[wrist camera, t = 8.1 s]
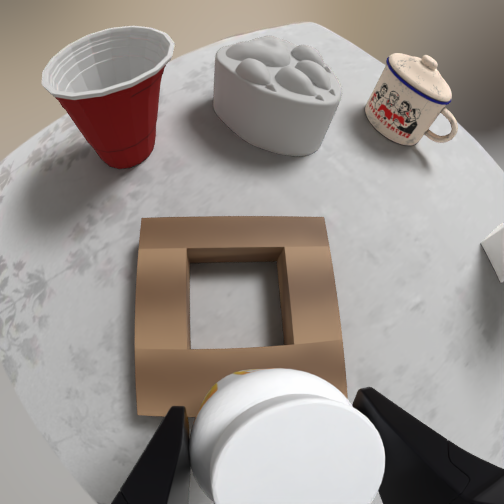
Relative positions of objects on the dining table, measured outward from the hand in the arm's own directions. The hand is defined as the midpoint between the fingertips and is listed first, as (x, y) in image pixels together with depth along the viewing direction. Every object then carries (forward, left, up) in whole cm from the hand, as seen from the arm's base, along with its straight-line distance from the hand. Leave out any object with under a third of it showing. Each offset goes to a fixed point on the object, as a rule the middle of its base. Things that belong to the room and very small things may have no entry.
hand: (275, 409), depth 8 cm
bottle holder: (+5, +4, -13) cm, 15 cm away
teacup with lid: (+36, 0, -14) cm, 38 cm away
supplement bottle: (-1, -1, -7) cm, 7 cm away
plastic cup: (+11, +22, -13) cm, 28 cm away
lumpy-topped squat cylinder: (+24, +13, -14) cm, 31 cm away
